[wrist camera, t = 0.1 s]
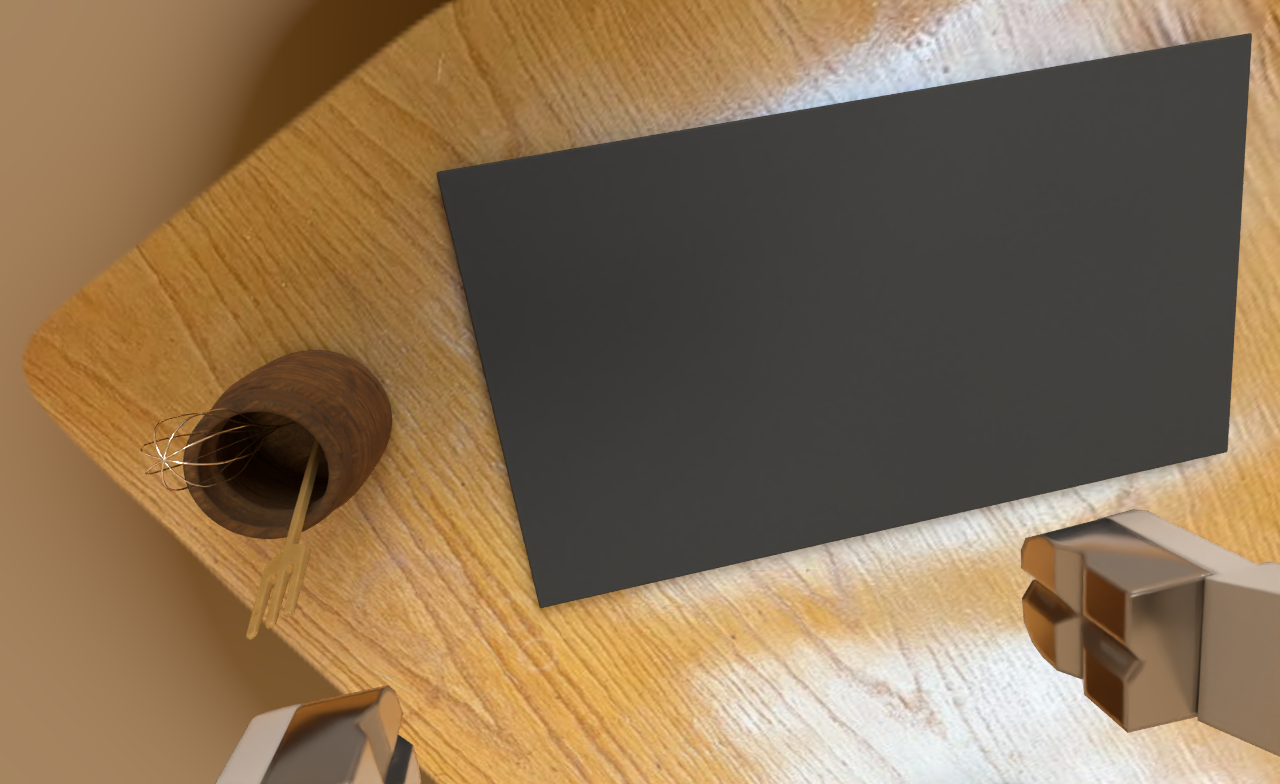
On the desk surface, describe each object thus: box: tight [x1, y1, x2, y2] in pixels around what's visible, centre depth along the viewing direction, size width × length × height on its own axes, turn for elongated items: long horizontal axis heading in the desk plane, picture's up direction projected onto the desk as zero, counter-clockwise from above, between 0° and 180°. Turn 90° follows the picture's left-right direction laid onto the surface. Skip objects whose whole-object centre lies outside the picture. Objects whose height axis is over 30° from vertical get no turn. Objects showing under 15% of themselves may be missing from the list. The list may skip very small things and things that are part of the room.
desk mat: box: [437, 33, 1252, 608], centre depth 33 cm, size 20×36×1 cm, turn 100°
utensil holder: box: [140, 350, 392, 640], centre depth 25 cm, size 6×6×12 cm
